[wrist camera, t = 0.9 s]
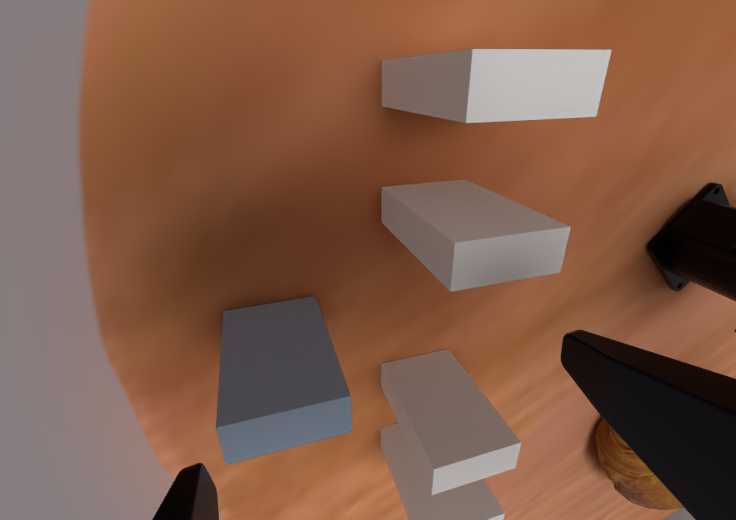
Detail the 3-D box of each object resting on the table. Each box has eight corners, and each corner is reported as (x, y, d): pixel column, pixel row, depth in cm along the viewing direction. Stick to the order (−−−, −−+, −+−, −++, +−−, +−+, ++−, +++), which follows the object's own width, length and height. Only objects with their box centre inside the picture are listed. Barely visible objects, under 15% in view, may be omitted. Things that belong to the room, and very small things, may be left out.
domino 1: (317, 324, 23) (352, 431, 16) (229, 341, 22) (225, 465, 15) (315, 296, 22) (350, 395, 15) (223, 311, 21) (216, 427, 14)
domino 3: (461, 212, 23) (560, 272, 16) (381, 222, 21) (450, 291, 14) (465, 179, 22) (570, 226, 15) (381, 186, 20) (454, 242, 14)
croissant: (597, 469, 46) (661, 541, 40) (566, 433, 36) (644, 521, 30) (697, 393, 45) (779, 456, 38) (692, 336, 35) (800, 407, 29)
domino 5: (440, 429, 30) (500, 533, 23) (380, 446, 29) (425, 561, 22) (442, 411, 30) (504, 513, 23) (380, 427, 28) (427, 541, 21)
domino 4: (446, 371, 28) (515, 468, 21) (381, 386, 26) (431, 495, 20) (448, 348, 27) (521, 442, 20) (381, 363, 26) (434, 469, 19)
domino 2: (472, 102, 20) (596, 116, 13) (381, 106, 19) (465, 123, 12) (476, 59, 19) (611, 49, 12) (381, 60, 18) (472, 49, 11)
